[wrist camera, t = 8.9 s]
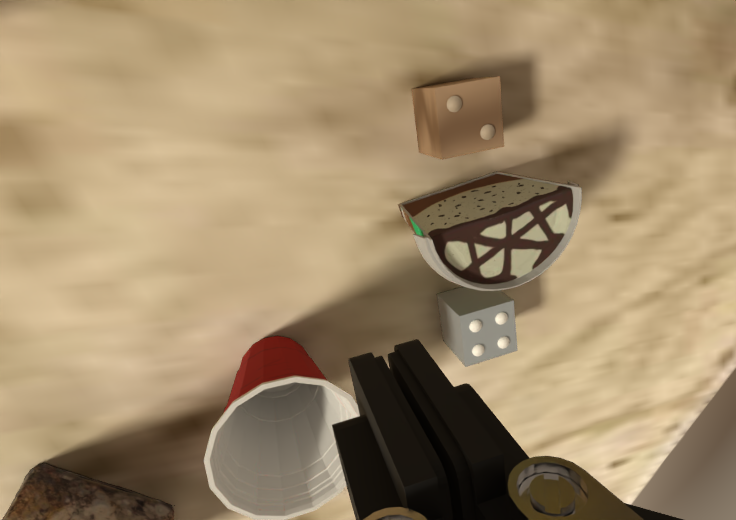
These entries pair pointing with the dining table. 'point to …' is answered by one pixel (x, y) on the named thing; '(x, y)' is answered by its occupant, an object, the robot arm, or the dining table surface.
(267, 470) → the plastic cup
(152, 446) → the dining table surface
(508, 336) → the slate-grey block
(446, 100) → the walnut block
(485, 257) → the food container
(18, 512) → the stone block
